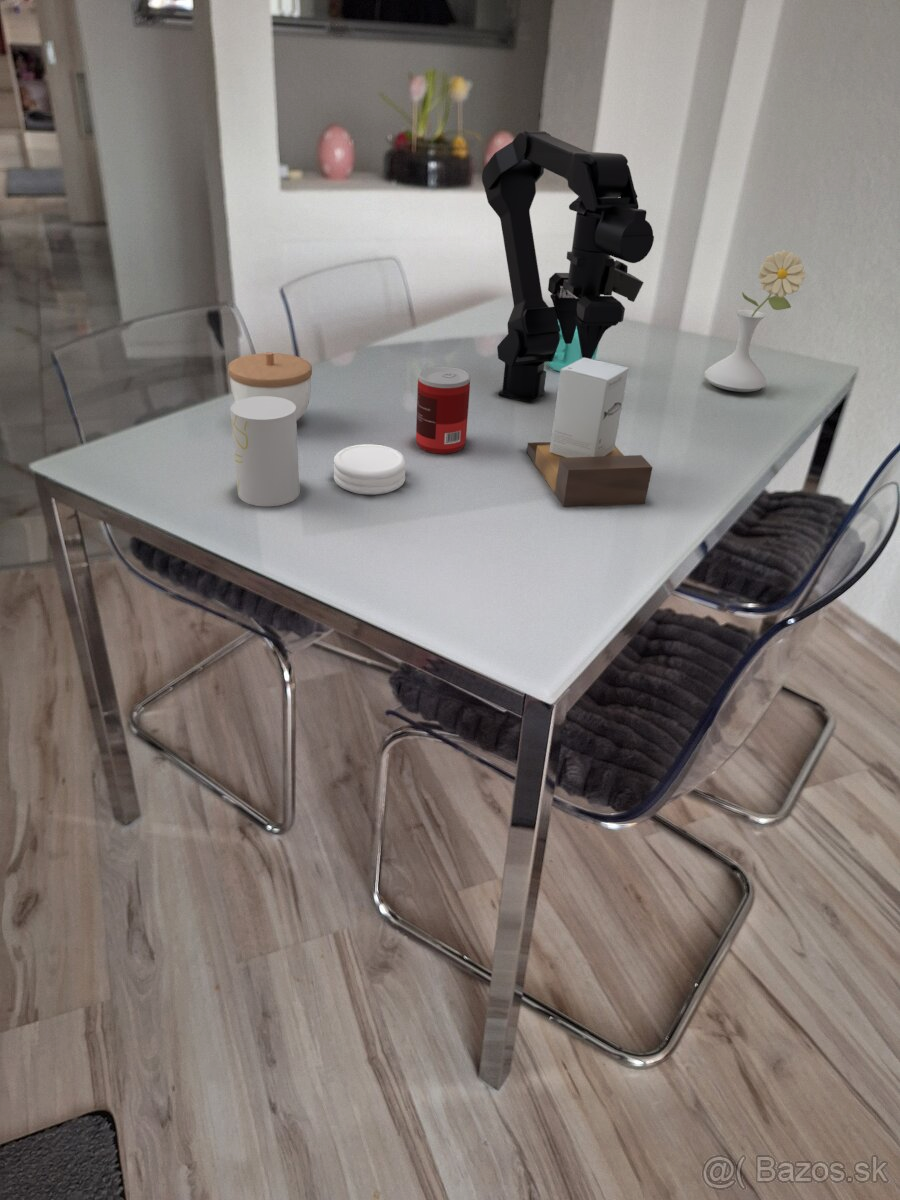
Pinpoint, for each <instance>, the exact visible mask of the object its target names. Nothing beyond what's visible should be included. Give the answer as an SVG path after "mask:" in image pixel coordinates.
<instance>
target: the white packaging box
mask: <svg viewBox="0 0 900 1200" xmlns="http://www.w3.org/2000/svg"><path fill="white" fill-rule="evenodd" d="M628 375H629V367H626V366H623V365H619V364H615V363H610V362H606V361H602V360H598V359H597V360H596V359H595V360H593V359H589V358H581V359H580V360H578V361H576V362H574V363H572V364H570V365H568V366H566V367H564V368H562V369H561V372H559V380H558V387H557V394H556V400H555V401H556V402H555V410H554V415H553V423H552V430H551V431H552V432H551V437H550V442H551V445H550V451H549V452H551V453H553V454H557V455H560V456H563V457H566V458H569V457H600V456H606V455H607V454H609V453H610V452H612V451H613V450H614V447H615V446H616V441H617V435H618V430H619V425H620V420H621V419H620V418H621V413H622V409H623V402H624V398H625V391H626V385H627V379H628Z"/></svg>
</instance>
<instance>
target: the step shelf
mask: <svg viewBox="0 0 900 1200" xmlns="http://www.w3.org/2000/svg"><path fill="white" fill-rule="evenodd" d="M550 445H551V441H543V442H542V441H539V442H537V441H536V442H527V445H526V453H527V454H528V456H529V457H530V459H531V461H532V462H533V464H534V465H535V466H536V468H537V469H538V471H539V472H540V474H541V476H542V477H543V478H544V480H545V481H546V483H547V484H548V486H549V488H550V489H551V490H552V492H553V493H554V496H556V498H557V499H558V501H559V503H560V504H561V506H562V507H563V508H570V507H571V508H572V507H589V506H591V507H592V506H594V507H595V506H613V505H615V506H616V505H637V504H646V501H647V497H648V492H649V486H650V483H651V482H650V481H651V477H652V471H653V466H652V465H651V464H650V462H649V461H647V460H646V458H645V457H644V456H643V455H642V454H637V455H636V454H635V455H633V454H632V455H631V454H630V455H624V454H623V453H622V452H621V451H620V449H619V448H618V447H617V446H616V445H615V447H614V450H613V451H612V452H610V453H609V454H607V455H606V456H600V457H569V458H566V457H563V456H560V455H557V454H553V453H551V452H549V451H550Z"/></svg>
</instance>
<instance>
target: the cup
mask: <svg viewBox="0 0 900 1200" xmlns="http://www.w3.org/2000/svg"><path fill="white" fill-rule="evenodd" d="M230 418H231V419H230V420H231V430H232V440H233V451H234V452H233V453H234V463H235V474H236V486H237V487H236V488H237V496H238V498H239V499H240V500H241V501H242V502H244V503H246V504H248V505H252V506H256V507H277V506H283V505H286V504H289V503H291V502H294V501H295V500H296V499H298V497H299V495H300V492H301V491H300V490H301V489H300V470H299V469H300V468H299V467H300V466H299V448H298V447H299V446H298V427H297V426H298V424H297V423H298V422H297V421H296V406H295V404H294V403H293V402H291V401H289V400H287V399H284V398H279V397H273V396H256V397H249V398H244V399H241V400H238V401H236V402H233V403H232V404H231V406H230Z"/></svg>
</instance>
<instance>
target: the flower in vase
mask: <svg viewBox="0 0 900 1200" xmlns="http://www.w3.org/2000/svg"><path fill="white" fill-rule="evenodd" d="M802 262H803V261H802V258H800V256H799V255H796V256H795V253H794V252H792V251H791V252H788V251H787V250H786V249H783V250H781V251H776V252H775V253H774V255H773V254H770V255H767V256H766V258H765V259H764V261H763V264H762V265H761V266H760V270H759V273H758V275H757V277H758V278H759V279H760V280H759V283H760V284H761V289H762V290H763V291H765V292H768V294H769V295H768V296H767V297H766V298H765V299H764V300H763V301H762V302H761V303H760V304H759V303H758V302H757V301H756V300H755V299H753V298H751V297H748V295H746V294H745V292H743V291H742V292H741V295H742V297H743V299H744V300H746V301H747V302H749V303H751V304H753V305H754V306H755V307H756V308H755V310H752V309H739V310H736V314H737V316H738V319H739V333H738V339H737V343H736V345H735V348H734V350H733V352H732V353H730V354H729V355H728V356H726V357H725V358H722V359H721V360H719V361H717V362H715V363H713V364H712V365H711V366H709V367H707V369H706V370H705V372H704V378H705V380H706V381H707V382H708V383H709V384H711V385H712V386H714V387H717V388H719V389H722V390H726V391H730V392H735V393H736V392H737V393H738V392H739V393H751V392H756V391H759V390H762V389H763V388H764V387H765V386H766V385H767V378H766V376H765V374H764V373H763V371H762V370H761V368H760V367H758V366H757V364H756V363H755V362H754V361H753V359H752V358H751V356H750V346H751V341H752V338H753V335H754V333H755V330H756V328H757V326H758V325H759V323H760V322H761V321H762V320H764V318H765V317H766V314H765V313H764V312H761V311H759V310H760V309H761V307H762V306H764V305H765V304H766V302H768V304H769V305H770V307H771V308H772V309H773V310H775V311H781V310H787V309H791V308H792V305H791V303H790V302H789V301H788V299H787V298H786V295H792V294H794V293H797V292H798V291H799V289H800V286H801V285H802V284H803V283H804V280H805V278H806V271H805V270H804V265H803V264H802ZM772 295H773V296H772Z"/></svg>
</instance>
